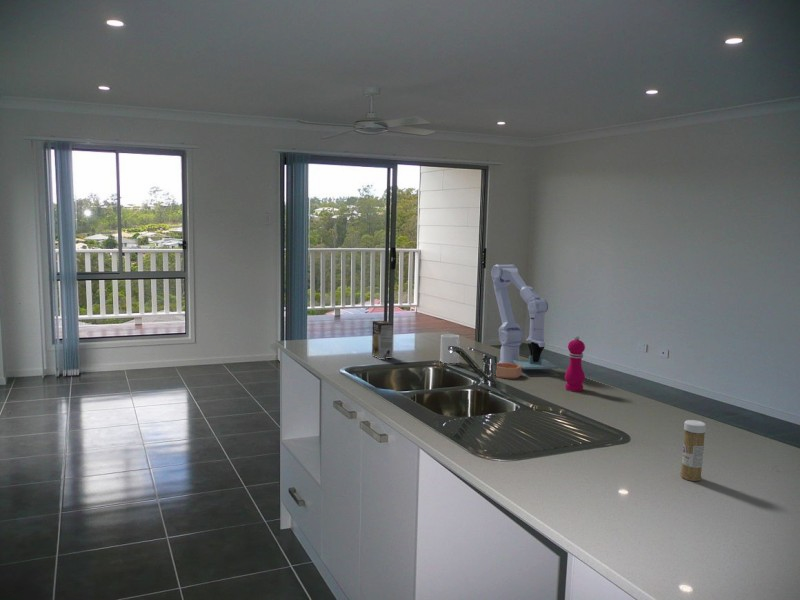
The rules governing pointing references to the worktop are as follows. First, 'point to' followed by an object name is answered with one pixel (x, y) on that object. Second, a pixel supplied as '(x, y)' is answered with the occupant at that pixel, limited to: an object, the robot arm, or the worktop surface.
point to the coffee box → (382, 339)
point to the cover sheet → (535, 364)
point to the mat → (538, 372)
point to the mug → (444, 353)
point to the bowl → (508, 370)
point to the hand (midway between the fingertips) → (535, 361)
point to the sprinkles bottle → (693, 450)
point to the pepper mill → (575, 366)
